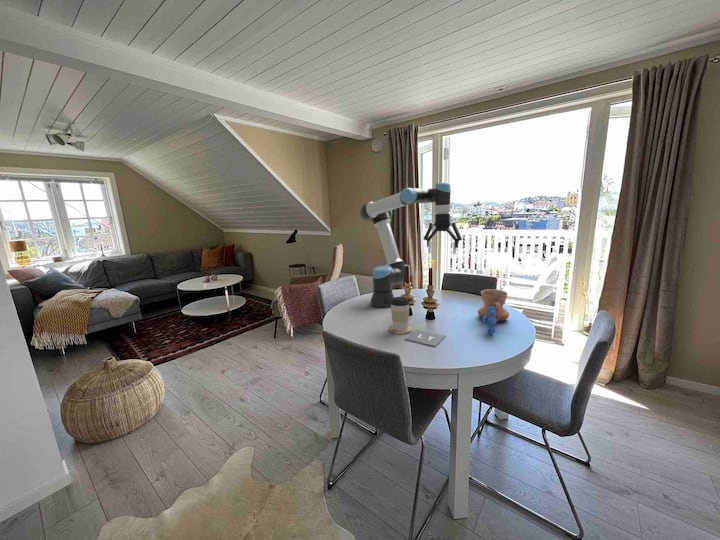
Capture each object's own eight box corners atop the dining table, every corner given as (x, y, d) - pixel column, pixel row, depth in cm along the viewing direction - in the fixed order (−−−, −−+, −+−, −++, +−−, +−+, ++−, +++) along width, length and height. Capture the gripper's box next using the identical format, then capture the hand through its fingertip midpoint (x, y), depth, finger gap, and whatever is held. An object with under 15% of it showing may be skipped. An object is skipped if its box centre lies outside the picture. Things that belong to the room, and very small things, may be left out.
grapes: (481, 326, 141) (482, 302, 138) (496, 328, 138) (498, 303, 136) (480, 336, 130) (481, 310, 128) (497, 338, 128) (499, 311, 125)
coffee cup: (395, 323, 147) (394, 294, 144) (412, 326, 142) (412, 296, 139) (388, 329, 139) (387, 299, 136) (406, 333, 135) (405, 301, 132)
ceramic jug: (475, 312, 160) (476, 287, 157) (504, 313, 156) (505, 287, 154) (480, 325, 143) (481, 297, 140) (513, 326, 139) (514, 298, 136)
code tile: (404, 339, 129) (404, 338, 129) (416, 330, 139) (416, 329, 139) (435, 347, 121) (435, 346, 121) (445, 336, 131) (445, 335, 131)
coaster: (384, 331, 139) (384, 329, 139) (395, 323, 148) (395, 322, 148) (405, 336, 133) (405, 334, 133) (415, 328, 142) (415, 326, 142)
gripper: (468, 212, 150) (467, 253, 154) (423, 213, 164) (423, 251, 168) (464, 212, 144) (463, 255, 148) (417, 214, 158) (417, 253, 162)
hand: (441, 253), depth 158 cm, fingers open, 13 cm apart
